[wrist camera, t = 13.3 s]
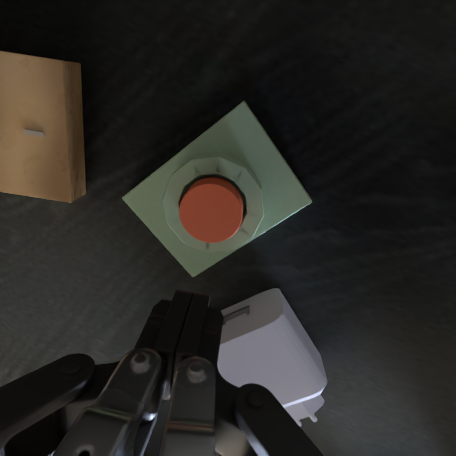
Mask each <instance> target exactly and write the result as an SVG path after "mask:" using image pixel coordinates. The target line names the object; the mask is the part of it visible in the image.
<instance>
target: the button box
mask: <svg viewBox="0 0 456 456" xmlns="http://www.w3.org/2000/svg"><path fill="white" fill-rule="evenodd" d="M208 177H217V178H221V179H224V180H226V181H228V182H230V183H231V184H232V185H233V186H235V188H236V189H237V190H238V191H239V193H240V195H241V198H242V201H243V215H242V222H241V225H240V227H239V229H238V230H237V232H236V233H235V234H234V235H233V236H231V237H230V238H228V239H227V240H224V241H221V242H217V243H207V242H203V241H200V240H198V239H196V238H194V237H192V236H191V235H190V234H189V233H188V232H187V231H186V230H185V228H184V227H183V225H182V223H181V220H180V215H179V208H180V204H181V201H182V199H183V197H184V195H185V194H186V192H187V191H188V189H189V188H190V187H191V185H193V184H194V183H195V182H197V181H198V180H201V179H203V178H208ZM122 199H123V200H124V201H125V202H126V203H127V204H128V206H129V207H130V208H131V209H132V210H133V211H134V212H135V213H136V215H137V216H138V217H139V218H140V219H141V220H142V221H143V222H144V223H145V225H146V226H147V227H148V228H149V229H150V230H151V231H152V232H153V234H154V235H155V236H156V237H157V238H158V239H159V240H160V241H161V243H162V244H163V245H164V246H165V247H166V248H167V249H168V250H169V251H170V253H171V254H172V255H173V256H174V257H175V258H176V259H177V260H178V262H179V263H180V264H181V265H182V266H183V267H184V268H185V269H186V271H187V272H188V273H189V274H190V275H191V276H192V277H195V276H196V275H198V274H199V273H201V272H203V271H204V270H206V269H207V268H209V267H210V266H212V265H214V264H215V263H217V262H218V261H220V260H221V259H223V258H225V257H226V256H228V255H229V254H231V253H233V252H234V251H236V250H237V249H239V248H240V247H242V246H244V245H245V244H247V243H248V242H250V241H251V240H253V239H255V238H256V237H258V236H259V235H261V234H263V233H264V232H266V231H267V230H269V229H270V228H272V227H274V226H275V225H277V224H278V223H280V222H281V221H283V220H285V219H286V218H288V217H289V216H291V215H293V214H294V213H296V212H297V211H299V210H300V209H302V208H304V207H305V206H307V205H308V204H310V203H311V202H312V200H311V198H310V196H309V195H308V193H307V192H306V190H305V189H304V187H303V186H302V184H301V183H300V181H299V180H298V178H297V177H296V175H295V174H294V172H293V171H292V170H291V168H290V167H289V165H288V164H287V162H286V161H285V159H284V158H283V156H282V155H281V153H280V152H279V150H278V149H277V147H276V146H275V144H274V143H273V142H272V140H271V139H270V137H269V136H268V134H267V133H266V131H265V130H264V128H263V127H262V125H261V124H260V122H259V121H258V119H257V118H256V116H255V115H254V114H253V112H252V111H251V109H250V108H249V106H248V105H247V103H246V102H245V101H243V102H242V103H240V104H239V105H238V106H237V107H235V108H234V109H233V110H231V111H230V112H229V113H228V114H226V115H225V116H224V117H223V118H221V119H220V120H219V121H218V122H216V123H215V124H214V125H213V126H211V127H210V128H209V129H208V130H206V131H205V132H204V133H202V134H201V135H200V136H199V137H197V138H196V139H195V140H194V141H192V142H191V143H190V144H189V145H187V146H186V147H185V148H184V149H182V150H181V151H180V152H179V153H177V154H176V155H175V156H174V157H172V158H171V159H170V160H168V161H167V162H166V163H165V164H163V165H162V166H161V167H160V168H158V169H157V170H156V171H155V172H153V173H152V174H151V175H150V176H148V177H147V178H146V179H145V180H143V181H142V182H141V183H139V184H138V185H137V186H136V187H134V188H133V189H132V190H131V191H129V192H128V193H127V194H126V195H125V196H123V197H122Z"/></svg>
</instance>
